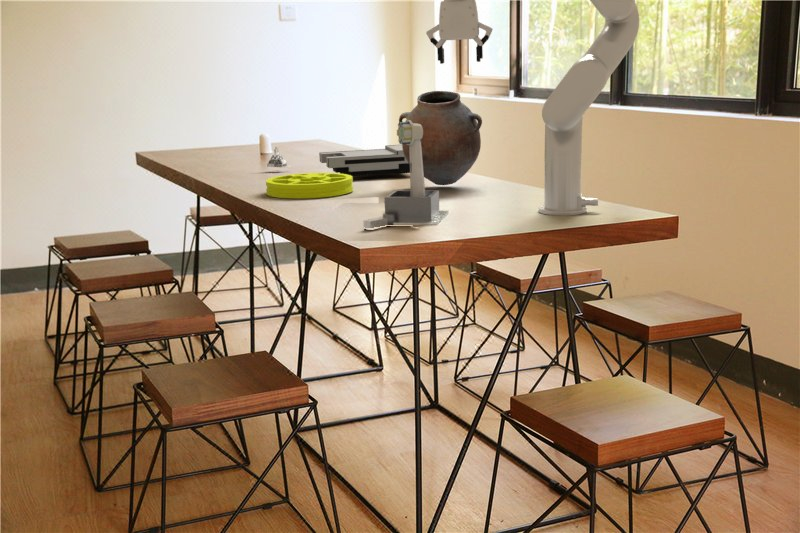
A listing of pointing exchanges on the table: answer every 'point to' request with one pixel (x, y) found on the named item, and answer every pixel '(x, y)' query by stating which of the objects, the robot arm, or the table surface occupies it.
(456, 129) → the clay pot
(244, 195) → the table surface
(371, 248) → the table surface
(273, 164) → the house of cards
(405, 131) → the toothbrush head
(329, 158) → the game console
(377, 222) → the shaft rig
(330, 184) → the pulley
